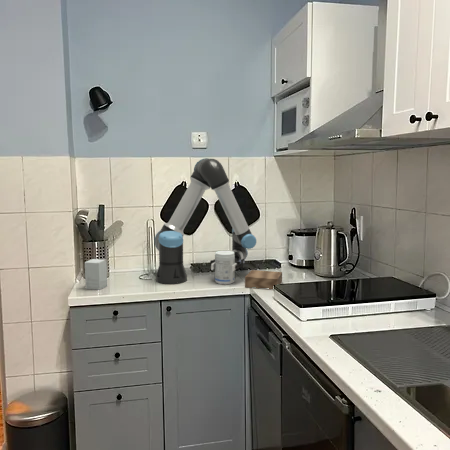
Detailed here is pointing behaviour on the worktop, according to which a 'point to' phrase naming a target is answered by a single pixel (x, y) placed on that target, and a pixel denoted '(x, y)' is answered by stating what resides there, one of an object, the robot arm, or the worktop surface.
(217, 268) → the supplement tub
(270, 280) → the walnut block
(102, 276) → the supplement box
